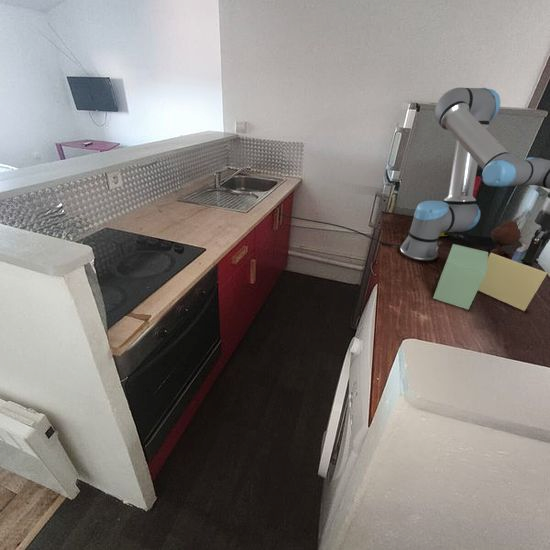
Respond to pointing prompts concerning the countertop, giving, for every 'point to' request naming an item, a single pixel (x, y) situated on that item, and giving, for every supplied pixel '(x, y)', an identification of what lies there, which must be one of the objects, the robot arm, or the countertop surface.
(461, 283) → the cupboard
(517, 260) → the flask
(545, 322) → the countertop surface
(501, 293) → the door
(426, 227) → the robot arm
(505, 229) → the ice cream bowl
